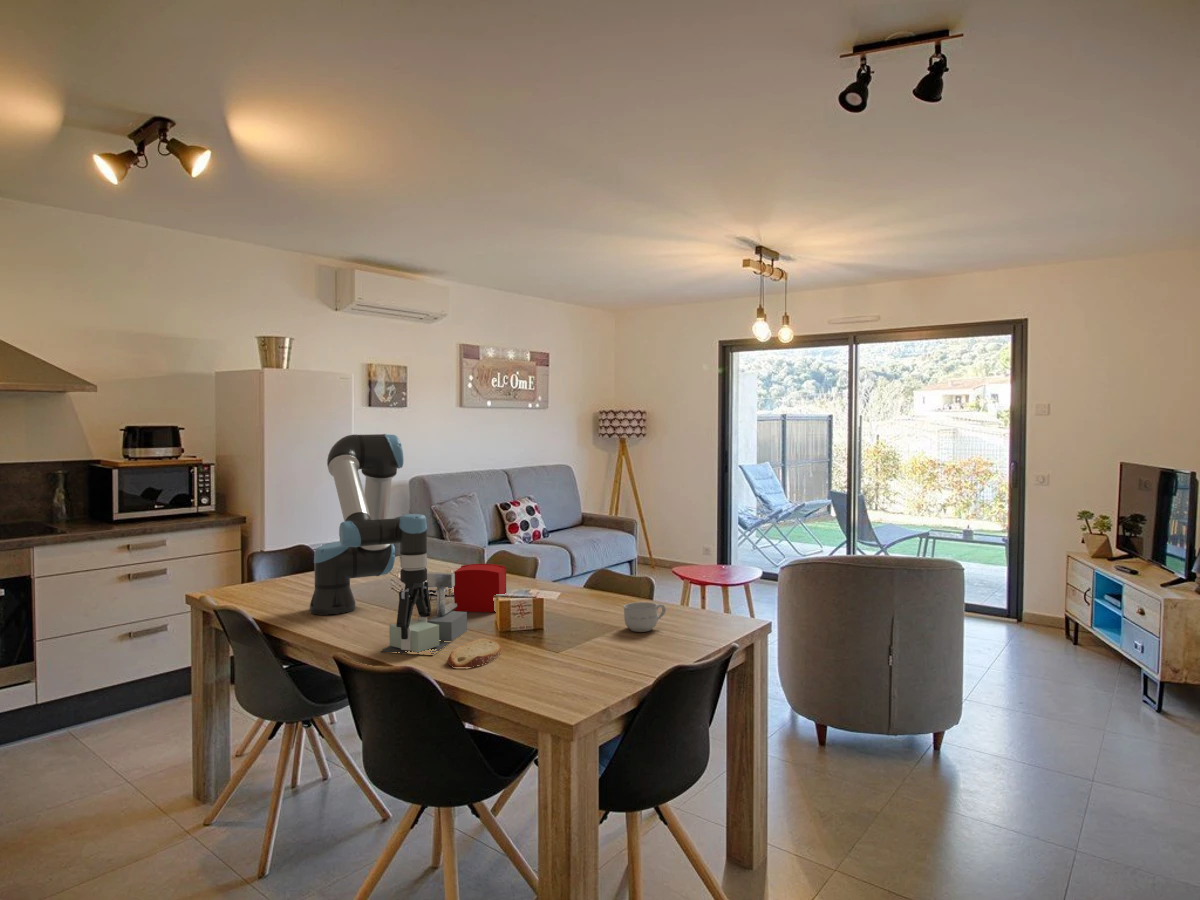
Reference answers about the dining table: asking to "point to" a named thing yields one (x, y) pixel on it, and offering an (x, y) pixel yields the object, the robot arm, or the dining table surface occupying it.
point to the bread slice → (474, 653)
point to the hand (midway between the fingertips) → (414, 644)
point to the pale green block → (417, 635)
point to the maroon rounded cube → (478, 586)
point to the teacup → (642, 615)
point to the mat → (395, 649)
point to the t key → (442, 589)
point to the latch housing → (450, 625)
